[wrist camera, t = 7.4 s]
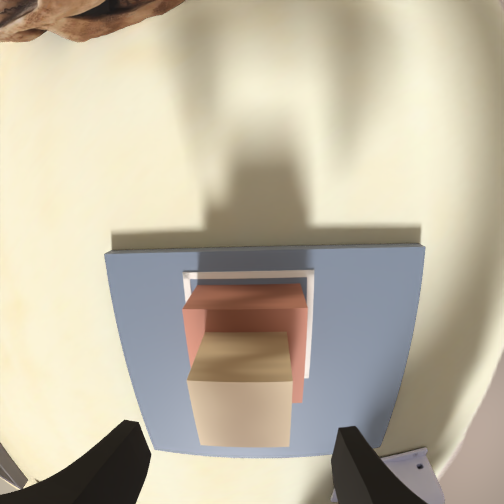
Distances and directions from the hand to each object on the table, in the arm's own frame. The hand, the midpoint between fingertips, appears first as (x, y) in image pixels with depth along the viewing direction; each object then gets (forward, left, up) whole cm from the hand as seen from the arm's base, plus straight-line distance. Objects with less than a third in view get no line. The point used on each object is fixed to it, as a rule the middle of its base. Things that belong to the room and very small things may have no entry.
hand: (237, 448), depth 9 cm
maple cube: (0, 0, -6) cm, 6 cm away
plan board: (-1, +4, -10) cm, 11 cm away
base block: (0, 0, -9) cm, 9 cm away
